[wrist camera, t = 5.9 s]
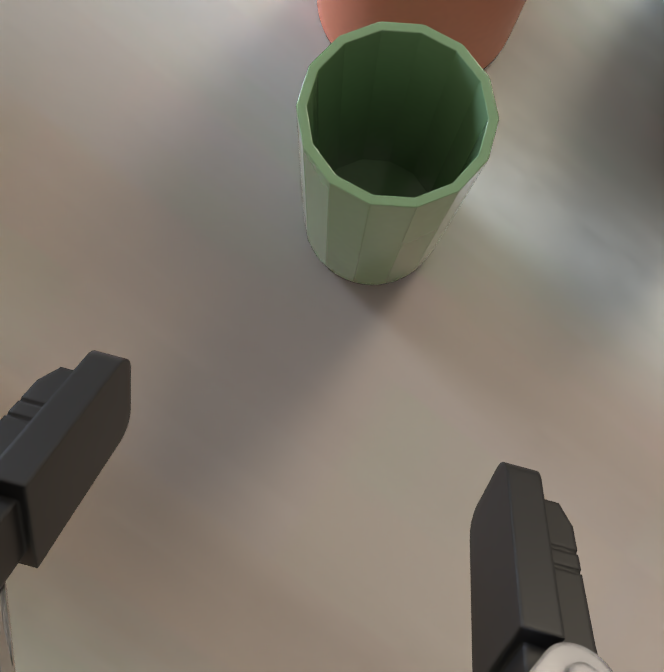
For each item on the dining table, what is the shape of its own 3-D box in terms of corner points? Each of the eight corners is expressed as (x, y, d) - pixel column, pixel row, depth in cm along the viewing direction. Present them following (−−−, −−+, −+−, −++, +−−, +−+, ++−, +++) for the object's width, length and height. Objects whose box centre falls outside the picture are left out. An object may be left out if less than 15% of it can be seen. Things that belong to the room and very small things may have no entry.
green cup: (357, 312, 29) (376, 246, 19) (278, 203, 30) (257, 86, 20) (465, 237, 30) (538, 137, 20) (385, 133, 30) (417, -14, 21)
